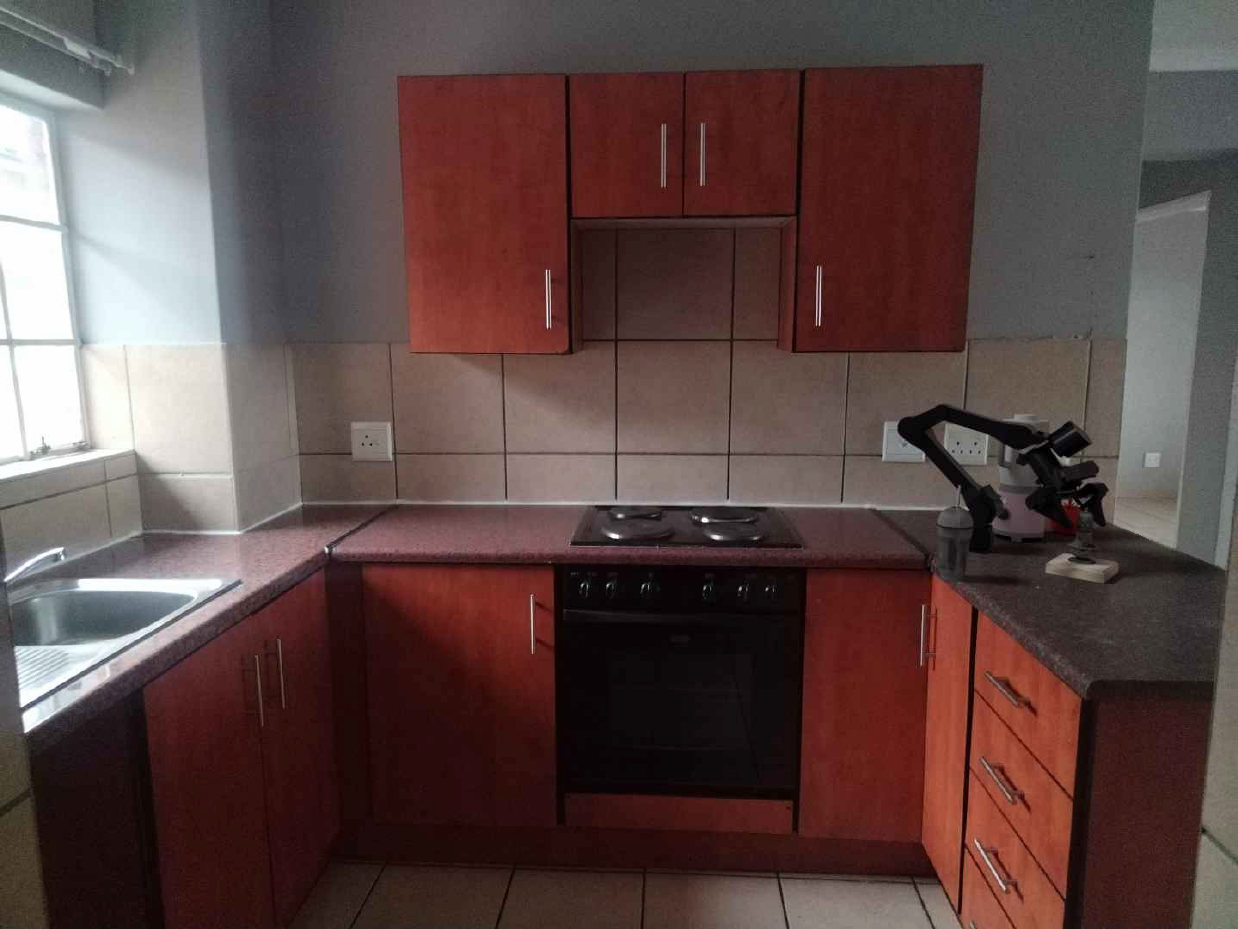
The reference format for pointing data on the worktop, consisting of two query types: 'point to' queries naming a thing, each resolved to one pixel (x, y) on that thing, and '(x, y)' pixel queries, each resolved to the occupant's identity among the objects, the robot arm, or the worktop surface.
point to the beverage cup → (954, 540)
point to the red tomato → (1073, 516)
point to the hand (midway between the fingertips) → (1088, 528)
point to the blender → (1018, 489)
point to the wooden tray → (1083, 569)
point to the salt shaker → (1083, 540)
